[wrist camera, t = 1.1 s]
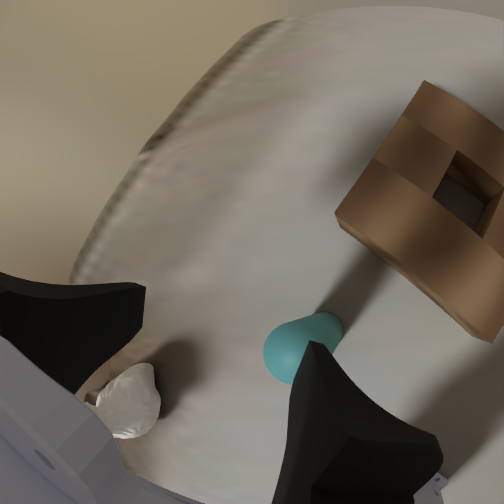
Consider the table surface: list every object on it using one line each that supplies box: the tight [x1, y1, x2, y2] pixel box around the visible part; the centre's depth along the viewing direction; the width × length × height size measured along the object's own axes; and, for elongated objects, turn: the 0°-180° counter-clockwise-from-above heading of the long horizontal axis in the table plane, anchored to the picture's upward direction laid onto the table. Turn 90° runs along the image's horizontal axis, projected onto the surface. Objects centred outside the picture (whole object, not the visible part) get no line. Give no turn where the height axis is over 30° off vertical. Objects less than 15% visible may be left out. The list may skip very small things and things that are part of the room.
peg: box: [264, 312, 343, 384], centre depth 16 cm, size 3×3×9 cm
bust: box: [84, 363, 161, 439], centre depth 21 cm, size 12×8×11 cm
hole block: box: [334, 80, 504, 343], centre depth 15 cm, size 14×14×4 cm
